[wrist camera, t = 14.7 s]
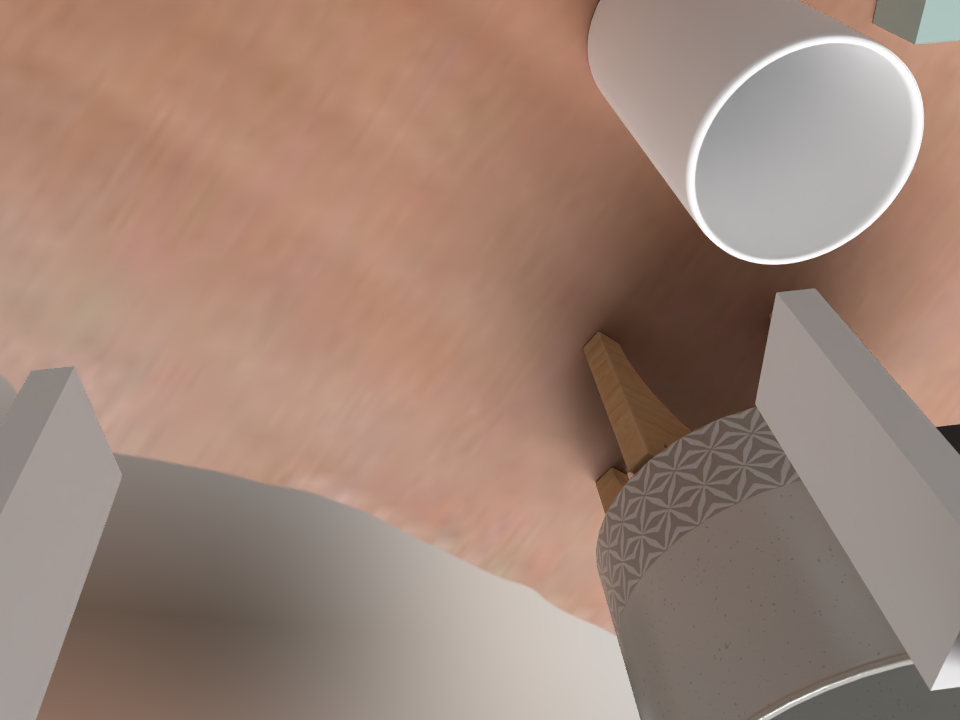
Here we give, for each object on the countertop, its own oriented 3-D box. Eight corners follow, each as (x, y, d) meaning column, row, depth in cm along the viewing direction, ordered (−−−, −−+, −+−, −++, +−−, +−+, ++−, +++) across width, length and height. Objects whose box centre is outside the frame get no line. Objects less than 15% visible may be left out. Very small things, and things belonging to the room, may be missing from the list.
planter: (692, 530, 63) (852, 907, 42) (500, 436, 55) (580, 842, 34) (885, 363, 55) (1203, 725, 34) (694, 225, 47) (954, 586, 26)
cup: (651, -88, 37) (801, -16, 24) (781, 3, 40) (975, 110, 27) (556, 73, 41) (640, 209, 28) (681, 144, 44) (809, 297, 31)
